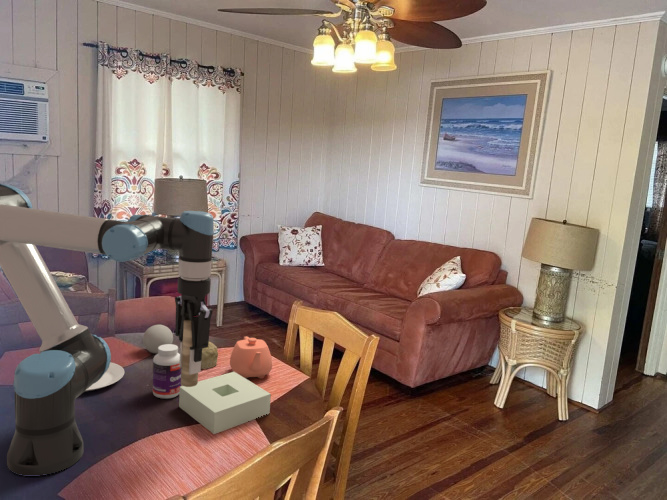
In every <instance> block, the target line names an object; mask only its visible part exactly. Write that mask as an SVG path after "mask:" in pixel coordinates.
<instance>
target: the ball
mask: <svg viewBox="0 0 667 500" xmlns="http://www.w3.org/2000/svg"><path fill="white" fill-rule="evenodd" d="M142 342H143V343H142V344H143V346H144V348H145V350H147V351H148V352H150V353H152V354H155V355H157V354H158V347H159V346H161V345H164V344H173V342H174V334H173V332H172V330H171V329H170V328H169V327H168V326H166V325H163V324H154V325H152V326H150V327H148V328H147V329H146V330H145V331H144V333H143V337H142Z"/></svg>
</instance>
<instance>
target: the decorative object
mask: <svg viewBox="0 0 667 500" xmlns="http://www.w3.org/2000/svg"><path fill="white" fill-rule="evenodd" d="M218 357H219V351H218V346H216V344H214V343H213V342H211V341H210V340H209V343H208V347H207V348H203V349H202V360H201V370H208V369H211V368H214V367H216V366H217V363H218Z"/></svg>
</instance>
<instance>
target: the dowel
mask: <svg viewBox="0 0 667 500" xmlns="http://www.w3.org/2000/svg"><path fill="white" fill-rule="evenodd" d="M190 347H192V329H191V321H190V320H189V319H188V320H184V327H183V348H182V369H181V386H185V387H193V386H196V385H197V384H198V382H199V373H195V374H191V375H190V374H189V362H190Z"/></svg>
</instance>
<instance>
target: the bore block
mask: <svg viewBox="0 0 667 500" xmlns="http://www.w3.org/2000/svg"><path fill="white" fill-rule="evenodd" d="M271 394H272V393H270V392H268V391H267V390H265V389H264V388H261V387H260V385H259V386H258V385H257V384H255V383H254V382H252V381H250V380H249V379H248V378H247V379H245V378H244V377H242V376H240V375H239V374H237V373H235V372H233V371H231V372H227V373H224V374H221V375H217V376H213V377H210V378H206V379H203V380H198V384H197V385H196V386H193V387H185V386H182V385H181V387H180V393H179V395H178V396H179V402H178V405H179V406H178V407H179V408H180V409H181V410H182V411H184V412H185V413H186V414H188V415H189V416H190V417H191V418H193V419H194V420H195V421H197V422H198V423H199V424H200V425H202V426H203V427H204V428H205V429H206V430H208V431H210V433H211V434H213V435H215V434H218V433H221V432H223V431H227V430H230V429H232V428H234V427H237V426H240V425H242V424H245V423H248V421H249V422H250V421H254V420H257V419H259V418H262V417H264V416H263V415H265V416H267V415H270V414H269V413H270V412H271V411H270V409H271V396H272V395H271ZM266 414H267V415H266ZM261 416H262V417H261ZM258 417H259V418H258ZM256 418H257V419H256Z"/></svg>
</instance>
